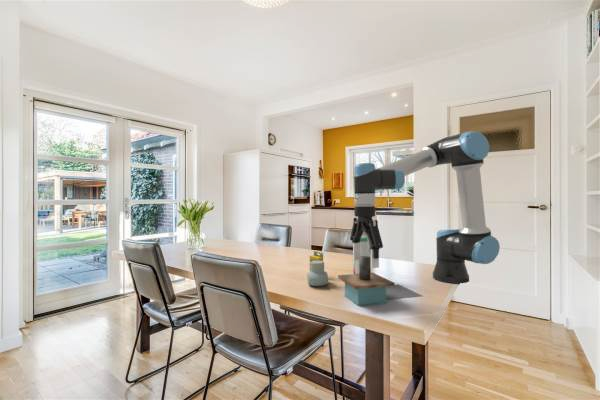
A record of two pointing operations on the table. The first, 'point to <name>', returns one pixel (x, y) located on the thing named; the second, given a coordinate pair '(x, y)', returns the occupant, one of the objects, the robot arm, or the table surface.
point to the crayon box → (316, 257)
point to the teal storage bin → (366, 295)
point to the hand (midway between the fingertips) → (365, 263)
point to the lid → (365, 277)
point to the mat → (399, 292)
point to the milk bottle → (362, 254)
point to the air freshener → (317, 274)
